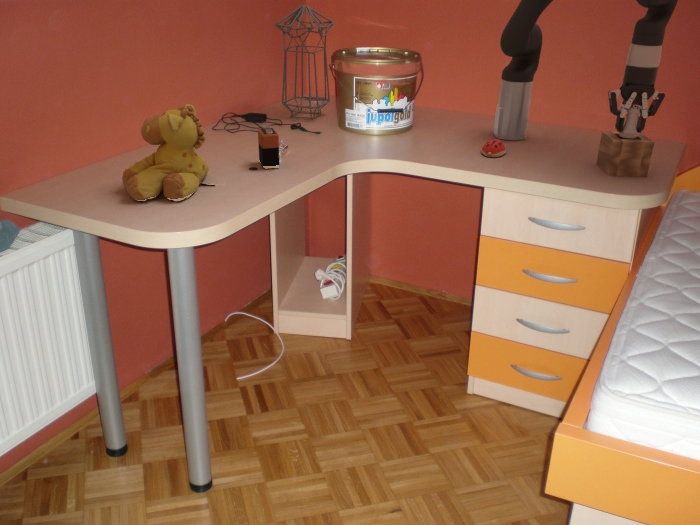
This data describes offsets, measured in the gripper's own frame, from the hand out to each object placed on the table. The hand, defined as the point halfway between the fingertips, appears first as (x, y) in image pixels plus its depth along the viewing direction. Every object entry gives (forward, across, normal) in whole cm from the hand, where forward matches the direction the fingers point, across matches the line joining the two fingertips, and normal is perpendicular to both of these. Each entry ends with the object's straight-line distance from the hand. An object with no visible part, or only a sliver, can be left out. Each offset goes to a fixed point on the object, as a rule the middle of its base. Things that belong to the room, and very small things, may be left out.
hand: (628, 131), depth 170 cm
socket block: (+10, 0, 0) cm, 10 cm away
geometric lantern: (+10, +89, -49) cm, 102 cm away
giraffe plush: (+11, +113, +24) cm, 116 cm away
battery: (+11, +93, +5) cm, 94 cm away
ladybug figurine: (+11, +32, -12) cm, 36 cm away
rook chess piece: (+2, 0, 0) cm, 2 cm away
